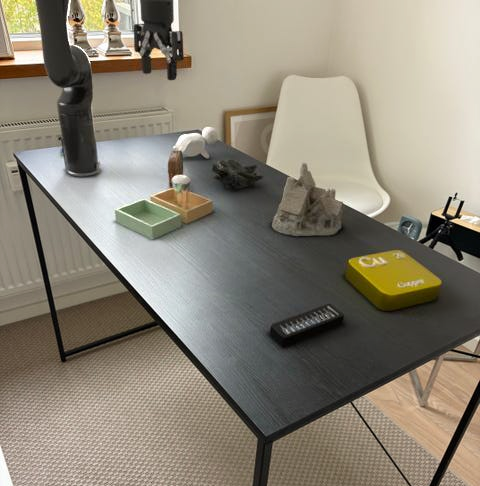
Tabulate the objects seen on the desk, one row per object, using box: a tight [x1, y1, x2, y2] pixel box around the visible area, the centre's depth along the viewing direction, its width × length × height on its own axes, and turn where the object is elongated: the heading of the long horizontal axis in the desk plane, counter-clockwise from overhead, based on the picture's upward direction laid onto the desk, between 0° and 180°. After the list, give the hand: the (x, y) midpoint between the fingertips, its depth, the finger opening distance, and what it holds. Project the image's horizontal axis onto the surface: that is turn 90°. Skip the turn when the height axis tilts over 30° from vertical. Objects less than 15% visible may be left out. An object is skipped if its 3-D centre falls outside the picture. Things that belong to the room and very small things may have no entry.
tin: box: [167, 149, 184, 189], centre depth 142 cm, size 15×3×8 cm, turn 179°
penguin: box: [172, 126, 219, 160], centre depth 162 cm, size 9×8×15 cm
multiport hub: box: [269, 303, 345, 348], centre depth 91 cm, size 4×14×2 cm, turn 123°
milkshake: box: [172, 168, 191, 210], centre depth 127 cm, size 4×5×10 cm
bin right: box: [149, 187, 213, 224], centre depth 129 cm, size 13×10×3 cm
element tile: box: [344, 249, 443, 312], centre depth 104 cm, size 15×15×5 cm
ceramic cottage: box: [271, 162, 346, 237], centre depth 122 cm, size 16×16×15 cm
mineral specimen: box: [210, 158, 264, 191], centre depth 143 cm, size 15×13×10 cm
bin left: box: [114, 198, 182, 240], centre depth 121 cm, size 13×10×3 cm
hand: (159, 76), depth 119 cm, fingers open, 8 cm apart
